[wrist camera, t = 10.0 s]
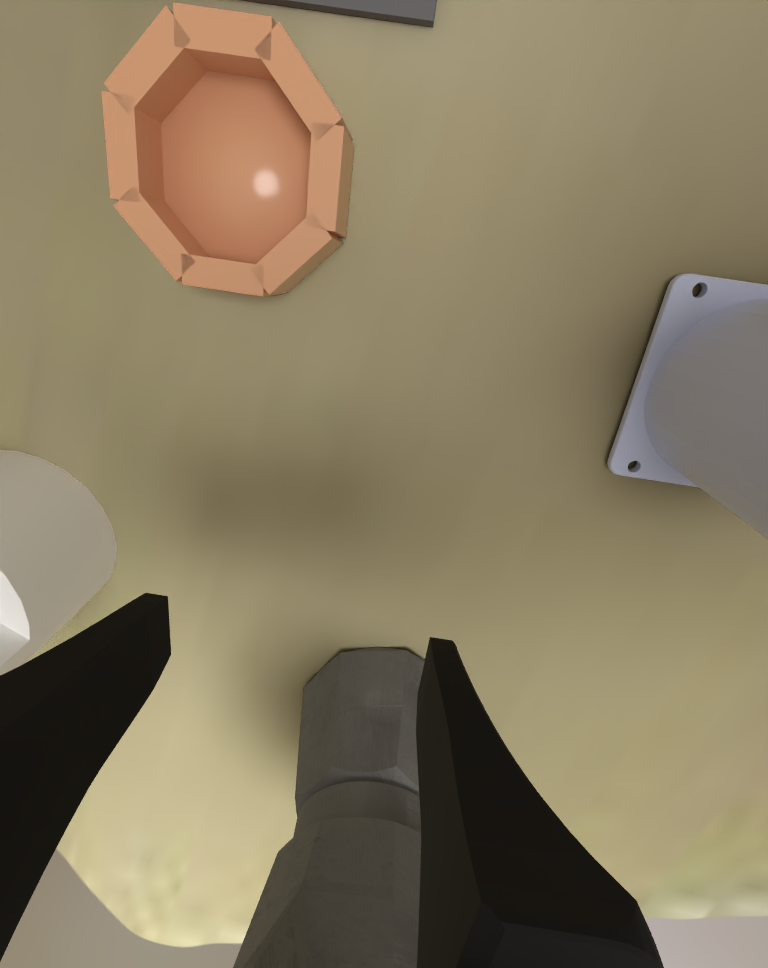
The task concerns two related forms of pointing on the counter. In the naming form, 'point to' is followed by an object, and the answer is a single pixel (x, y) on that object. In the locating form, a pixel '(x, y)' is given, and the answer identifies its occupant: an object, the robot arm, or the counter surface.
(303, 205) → the bowl
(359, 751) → the coffeepot
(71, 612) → the cylinder with rectangular tab
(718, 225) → the counter surface
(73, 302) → the counter surface
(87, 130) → the counter surface
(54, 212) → the counter surface
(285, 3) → the mat
